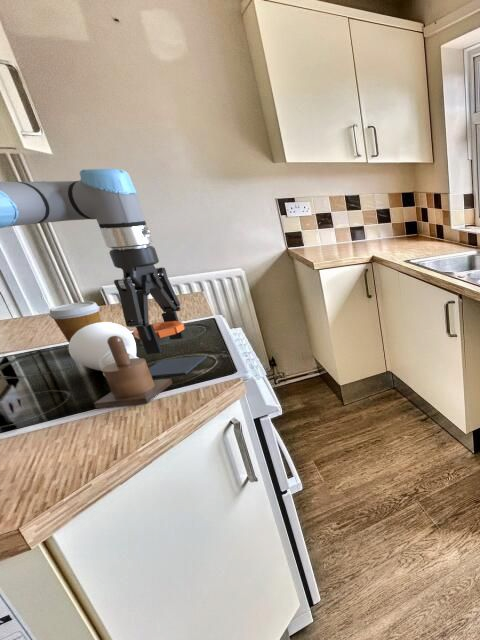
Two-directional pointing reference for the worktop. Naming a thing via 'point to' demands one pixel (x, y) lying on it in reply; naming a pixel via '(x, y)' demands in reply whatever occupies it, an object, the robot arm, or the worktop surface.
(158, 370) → the mat
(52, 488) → the worktop surface
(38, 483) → the worktop surface
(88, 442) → the worktop surface
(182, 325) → the ring
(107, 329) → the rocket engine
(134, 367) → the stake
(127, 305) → the robot arm
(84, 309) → the disposable coffee cup
